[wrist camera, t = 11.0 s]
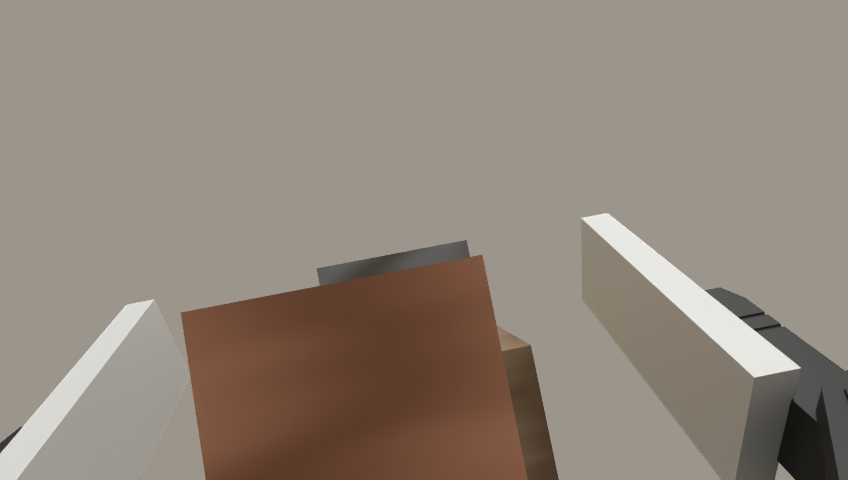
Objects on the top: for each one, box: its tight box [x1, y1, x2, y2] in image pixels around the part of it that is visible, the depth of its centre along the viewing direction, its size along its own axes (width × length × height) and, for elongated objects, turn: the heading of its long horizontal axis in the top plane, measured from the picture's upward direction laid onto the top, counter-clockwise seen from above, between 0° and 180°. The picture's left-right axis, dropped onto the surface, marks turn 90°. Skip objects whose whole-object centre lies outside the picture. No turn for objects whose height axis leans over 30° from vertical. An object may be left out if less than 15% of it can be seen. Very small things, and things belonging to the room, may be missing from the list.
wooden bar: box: [181, 255, 528, 480], centre depth 15 cm, size 4×18×4 cm, turn 1°
